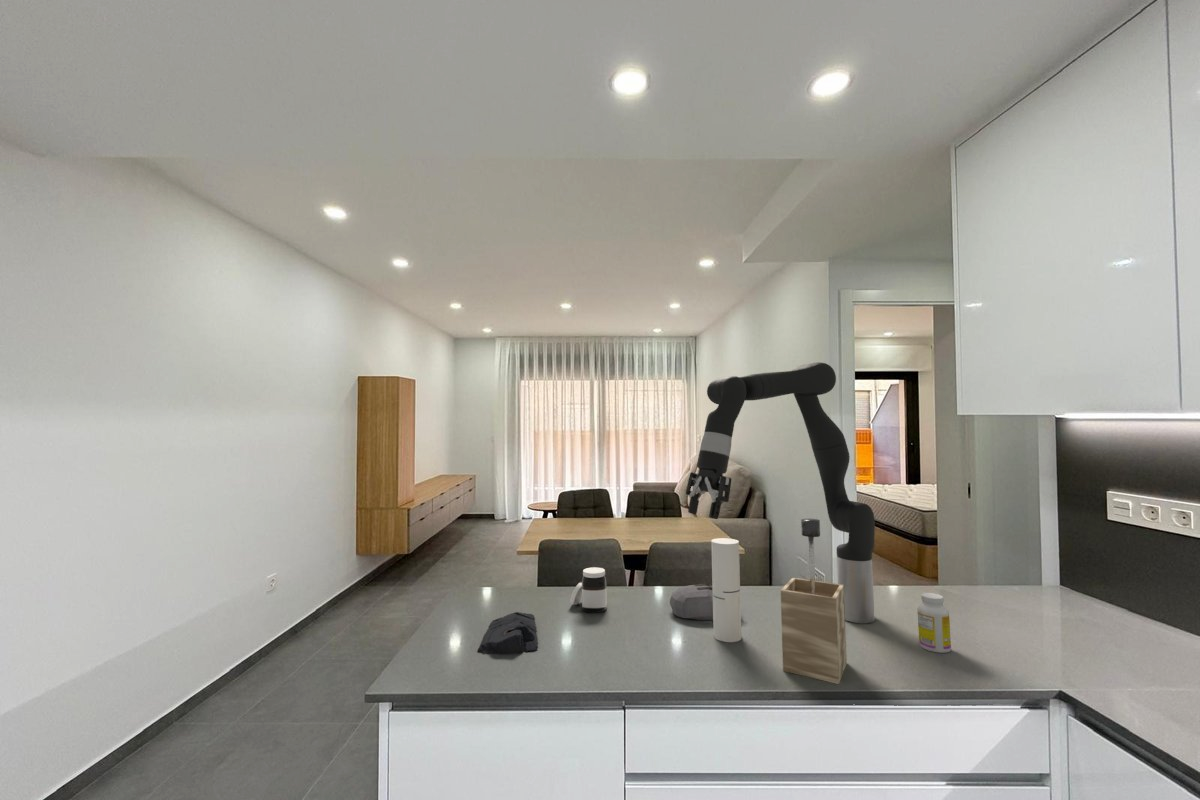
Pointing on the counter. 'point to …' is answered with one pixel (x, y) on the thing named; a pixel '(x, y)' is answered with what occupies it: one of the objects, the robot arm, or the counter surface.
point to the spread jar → (591, 590)
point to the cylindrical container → (726, 589)
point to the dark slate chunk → (510, 635)
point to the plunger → (811, 546)
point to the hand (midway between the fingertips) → (702, 515)
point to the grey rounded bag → (693, 602)
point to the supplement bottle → (933, 624)
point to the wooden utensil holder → (813, 629)
